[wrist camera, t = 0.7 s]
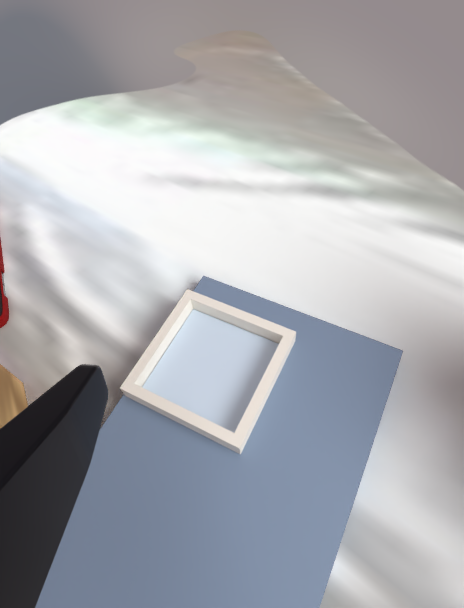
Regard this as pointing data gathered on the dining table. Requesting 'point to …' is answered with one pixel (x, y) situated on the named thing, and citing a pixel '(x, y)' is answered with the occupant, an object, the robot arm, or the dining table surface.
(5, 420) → the pillar block
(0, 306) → the cell phone
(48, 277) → the dining table surface
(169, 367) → the board
